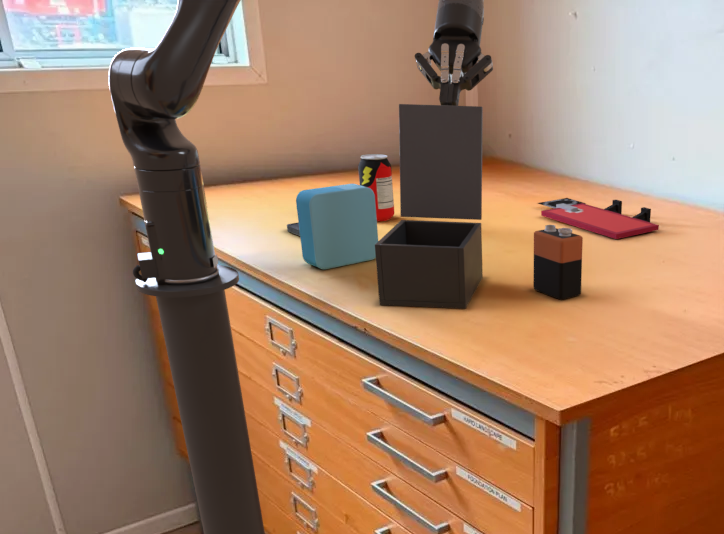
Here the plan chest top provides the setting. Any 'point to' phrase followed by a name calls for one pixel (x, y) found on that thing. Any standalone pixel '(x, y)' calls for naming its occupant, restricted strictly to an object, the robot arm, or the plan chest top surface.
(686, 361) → the plan chest top surface
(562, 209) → the red board with handle
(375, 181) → the beverage can
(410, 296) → the chest
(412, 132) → the lid
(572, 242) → the battery
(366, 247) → the data package
